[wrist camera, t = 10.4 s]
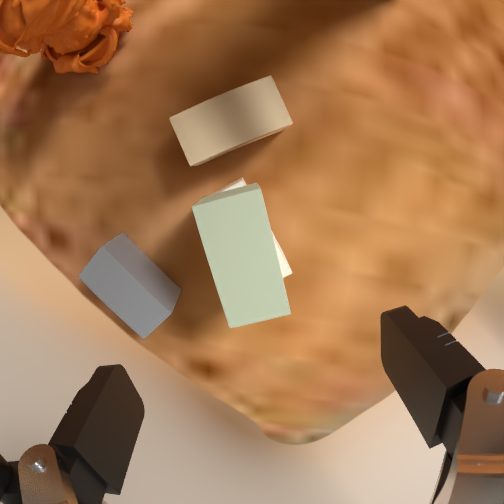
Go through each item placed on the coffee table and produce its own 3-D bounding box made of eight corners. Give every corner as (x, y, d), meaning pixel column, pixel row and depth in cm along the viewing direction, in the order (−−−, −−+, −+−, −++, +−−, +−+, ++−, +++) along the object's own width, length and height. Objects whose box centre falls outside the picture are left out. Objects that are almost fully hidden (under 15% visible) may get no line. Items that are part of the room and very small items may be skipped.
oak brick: (199, 165, 26) (190, 166, 21) (181, 125, 25) (168, 118, 20) (283, 130, 26) (293, 123, 21) (265, 90, 24) (271, 75, 20)
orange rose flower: (152, -16, 20) (86, -126, 3) (140, 74, 23) (23, -9, 6) (59, 8, 20) (-39, -54, 3) (44, 93, 23) (-89, 69, 6)
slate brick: (100, 258, 28) (77, 276, 23) (123, 231, 28) (102, 245, 23) (156, 313, 30) (143, 339, 25) (182, 289, 29) (171, 313, 25)
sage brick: (203, 196, 22) (191, 206, 17) (256, 182, 22) (260, 188, 17) (232, 296, 24) (229, 328, 19) (282, 283, 24) (291, 313, 19)
